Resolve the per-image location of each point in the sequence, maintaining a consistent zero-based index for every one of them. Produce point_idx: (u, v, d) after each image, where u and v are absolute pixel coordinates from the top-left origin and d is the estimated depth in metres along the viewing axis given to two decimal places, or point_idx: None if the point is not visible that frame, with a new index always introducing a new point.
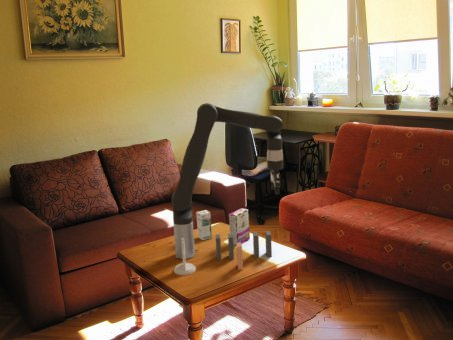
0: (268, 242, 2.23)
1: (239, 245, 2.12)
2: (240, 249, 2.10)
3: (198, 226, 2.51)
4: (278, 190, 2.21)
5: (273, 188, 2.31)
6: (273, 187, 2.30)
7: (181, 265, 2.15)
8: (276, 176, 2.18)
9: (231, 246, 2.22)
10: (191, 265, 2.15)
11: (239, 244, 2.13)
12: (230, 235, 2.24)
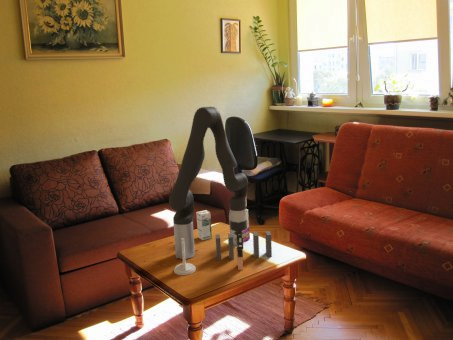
0: (268, 242, 2.23)
1: None
2: None
3: (198, 226, 2.51)
4: (241, 253, 2.09)
5: None
6: None
7: (181, 265, 2.15)
8: (238, 241, 2.05)
9: (231, 246, 2.22)
10: (191, 265, 2.15)
11: None
12: (230, 235, 2.24)
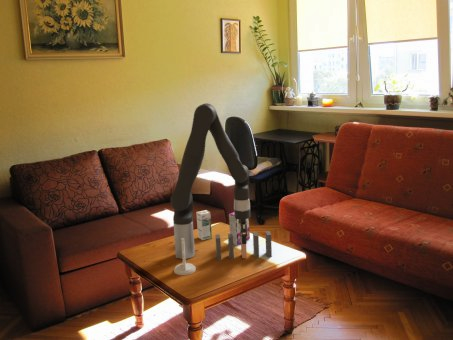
0: (268, 242, 2.23)
1: None
2: None
3: (198, 226, 2.51)
4: (245, 240, 2.19)
5: (241, 236, 2.28)
6: None
7: (181, 265, 2.15)
8: (242, 227, 2.16)
9: (231, 246, 2.22)
10: (191, 265, 2.15)
11: None
12: (230, 235, 2.24)
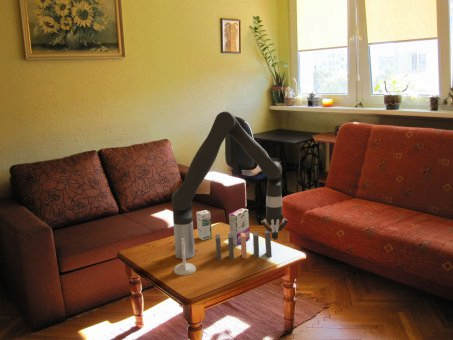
0: (267, 242, 2.23)
1: (243, 235, 2.24)
2: (244, 239, 2.22)
3: (198, 226, 2.51)
4: None
5: None
6: None
7: (181, 265, 2.15)
8: None
9: (231, 246, 2.22)
10: (191, 265, 2.15)
11: (243, 234, 2.24)
12: (230, 235, 2.24)
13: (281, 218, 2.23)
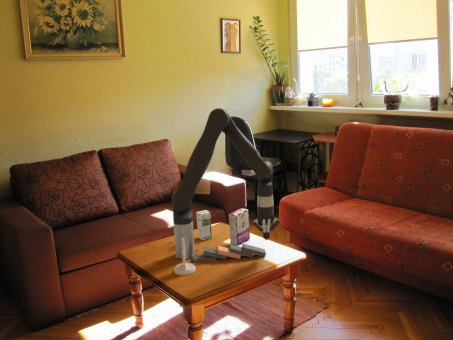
0: (250, 252, 2.24)
1: (217, 250, 2.24)
2: (220, 251, 2.22)
3: (198, 226, 2.51)
4: (263, 235, 2.24)
5: None
6: None
7: (181, 265, 2.15)
8: None
9: (213, 254, 2.23)
10: (191, 265, 2.15)
11: (217, 249, 2.25)
12: None
13: (272, 218, 2.22)
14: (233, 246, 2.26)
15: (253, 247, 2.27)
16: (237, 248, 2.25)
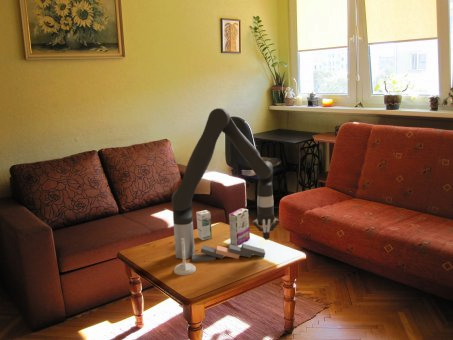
0: (249, 252, 2.24)
1: (216, 249, 2.25)
2: (219, 251, 2.23)
3: (198, 226, 2.51)
4: (263, 235, 2.24)
5: None
6: None
7: (181, 265, 2.15)
8: None
9: (210, 253, 2.24)
10: (191, 265, 2.15)
11: (216, 248, 2.26)
12: None
13: (272, 218, 2.22)
14: (232, 246, 2.26)
15: (252, 247, 2.27)
16: (236, 248, 2.26)
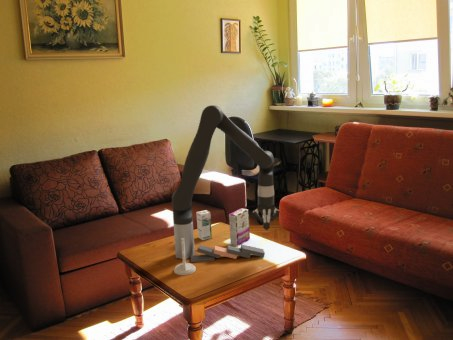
0: (249, 252, 2.24)
1: (214, 249, 2.25)
2: (217, 251, 2.23)
3: (198, 226, 2.51)
4: (263, 225, 2.23)
5: None
6: None
7: (181, 265, 2.15)
8: None
9: (206, 252, 2.25)
10: (191, 265, 2.15)
11: (214, 249, 2.25)
12: None
13: (273, 208, 2.21)
14: (230, 247, 2.26)
15: (252, 248, 2.27)
16: (234, 248, 2.25)
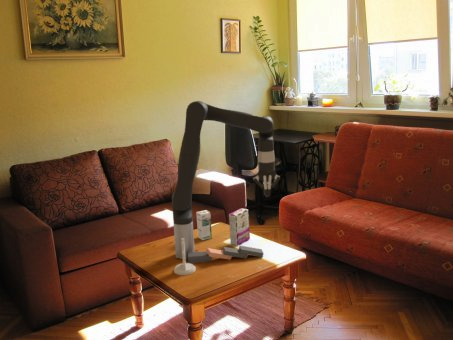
0: (248, 253, 2.23)
1: (208, 252, 2.21)
2: (212, 254, 2.19)
3: (198, 226, 2.51)
4: (264, 192, 2.20)
5: None
6: None
7: (181, 265, 2.15)
8: None
9: (197, 258, 2.21)
10: (191, 265, 2.15)
11: (208, 251, 2.21)
12: (188, 256, 2.24)
13: (273, 174, 2.17)
14: (227, 248, 2.25)
15: (250, 248, 2.27)
16: (231, 250, 2.24)
